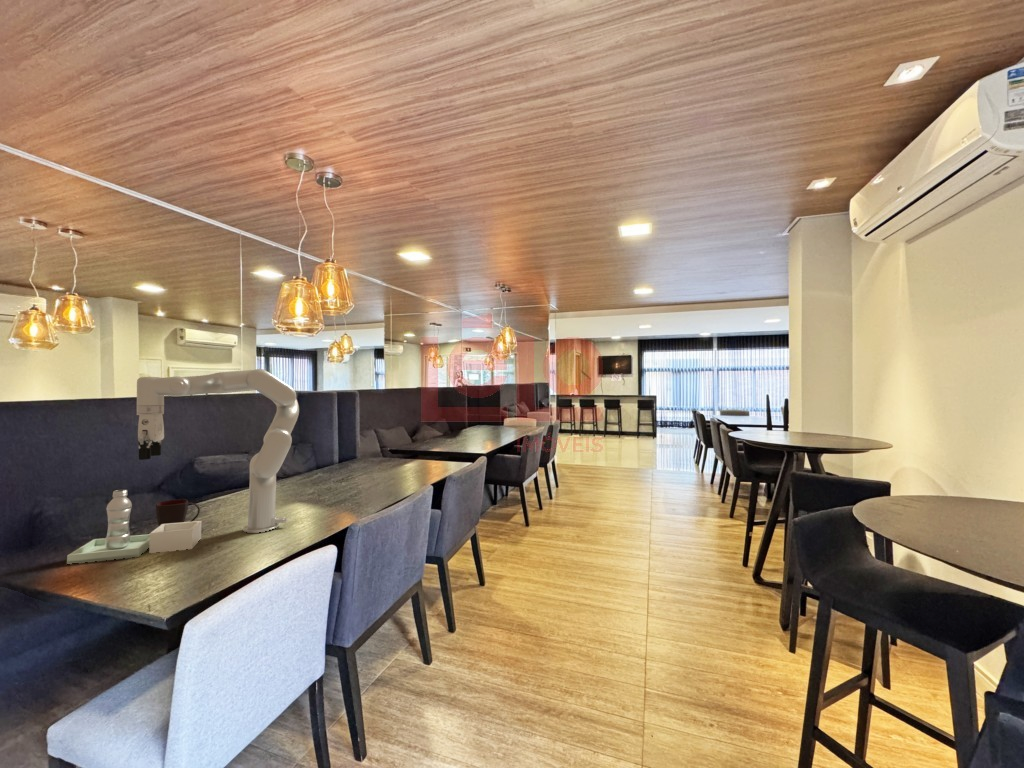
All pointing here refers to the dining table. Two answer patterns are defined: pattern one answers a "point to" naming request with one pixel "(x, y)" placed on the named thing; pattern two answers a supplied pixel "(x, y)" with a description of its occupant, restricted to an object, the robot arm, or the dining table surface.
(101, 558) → the tray
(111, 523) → the plastic bottle
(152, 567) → the dining table surface
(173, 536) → the white storage bin
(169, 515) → the mug
